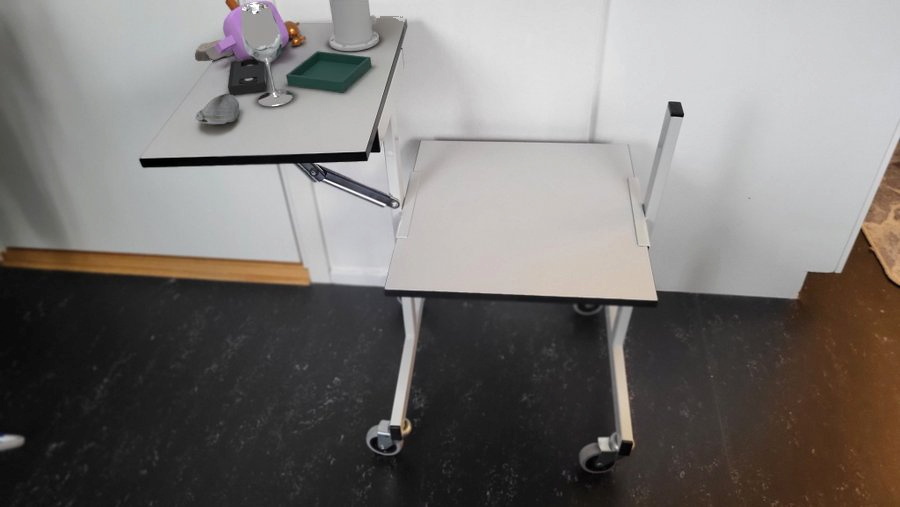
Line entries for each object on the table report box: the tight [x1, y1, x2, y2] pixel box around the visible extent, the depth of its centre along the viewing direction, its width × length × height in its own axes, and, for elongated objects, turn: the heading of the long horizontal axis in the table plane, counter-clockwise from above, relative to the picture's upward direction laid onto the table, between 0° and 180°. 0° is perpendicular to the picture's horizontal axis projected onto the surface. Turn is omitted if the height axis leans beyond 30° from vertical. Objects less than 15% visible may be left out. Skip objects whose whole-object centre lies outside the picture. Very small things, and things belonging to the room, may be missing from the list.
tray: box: [285, 50, 372, 94], centre depth 153 cm, size 14×14×2 cm
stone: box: [194, 39, 234, 62], centre depth 165 cm, size 12×5×3 cm, turn 131°
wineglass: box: [241, 2, 294, 108], centre depth 139 cm, size 8×8×20 cm
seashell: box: [195, 93, 240, 125], centre depth 137 cm, size 12×8×5 cm
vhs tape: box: [227, 59, 268, 96], centre depth 153 cm, size 14×8×2 cm, turn 12°
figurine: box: [284, 20, 307, 47], centre depth 171 cm, size 12×4×11 cm
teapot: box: [215, 0, 290, 61], centre depth 160 cm, size 20×12×13 cm
